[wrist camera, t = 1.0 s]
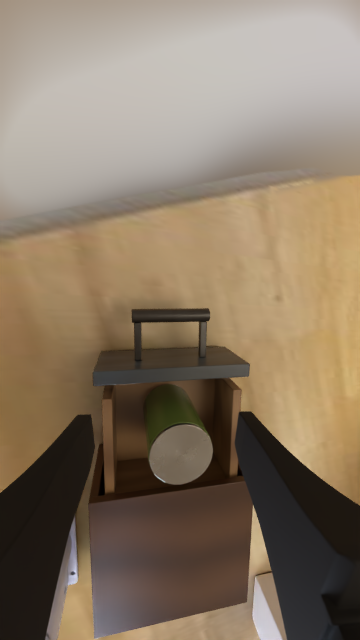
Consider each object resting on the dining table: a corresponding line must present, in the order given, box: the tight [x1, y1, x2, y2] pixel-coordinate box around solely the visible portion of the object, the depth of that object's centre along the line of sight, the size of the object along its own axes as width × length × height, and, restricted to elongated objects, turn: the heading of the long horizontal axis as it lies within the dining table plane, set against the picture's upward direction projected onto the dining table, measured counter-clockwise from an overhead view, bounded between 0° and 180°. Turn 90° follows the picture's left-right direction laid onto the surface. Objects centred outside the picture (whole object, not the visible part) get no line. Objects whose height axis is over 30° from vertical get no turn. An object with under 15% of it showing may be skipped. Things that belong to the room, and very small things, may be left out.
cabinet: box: [88, 444, 253, 639], centre depth 27 cm, size 13×14×8 cm
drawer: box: [93, 308, 250, 495], centre depth 25 cm, size 17×13×6 cm
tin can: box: [143, 384, 213, 484], centre depth 23 cm, size 5×5×8 cm
